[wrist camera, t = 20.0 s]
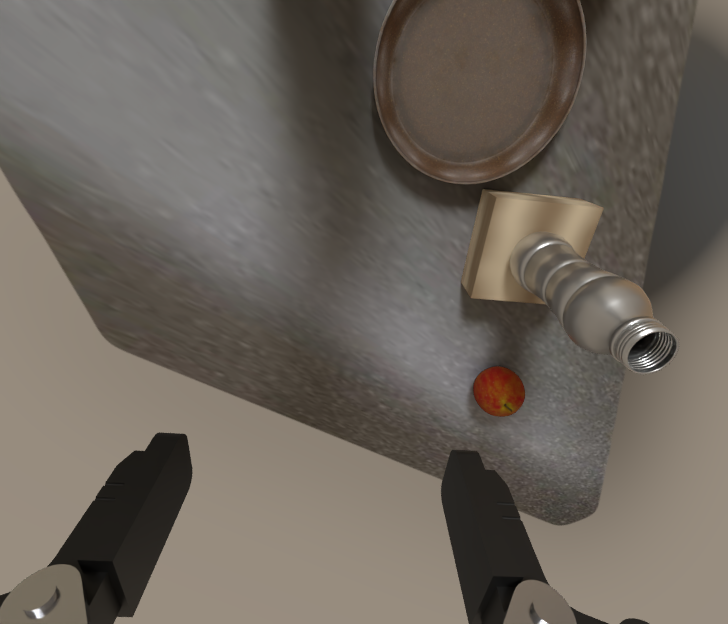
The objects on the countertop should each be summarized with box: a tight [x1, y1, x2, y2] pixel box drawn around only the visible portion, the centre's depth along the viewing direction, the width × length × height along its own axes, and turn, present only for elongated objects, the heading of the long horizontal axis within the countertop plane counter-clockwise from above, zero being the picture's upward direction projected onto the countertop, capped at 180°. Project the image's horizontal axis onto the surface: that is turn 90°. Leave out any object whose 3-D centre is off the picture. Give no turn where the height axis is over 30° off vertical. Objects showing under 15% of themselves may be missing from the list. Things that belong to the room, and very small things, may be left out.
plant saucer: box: [373, 0, 586, 184], centre depth 38 cm, size 21×21×3 cm
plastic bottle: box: [510, 231, 679, 374], centre depth 35 cm, size 6×7×20 cm
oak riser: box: [461, 189, 603, 304], centre depth 46 cm, size 12×12×5 cm
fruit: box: [473, 366, 525, 416], centre depth 54 cm, size 7×7×8 cm
